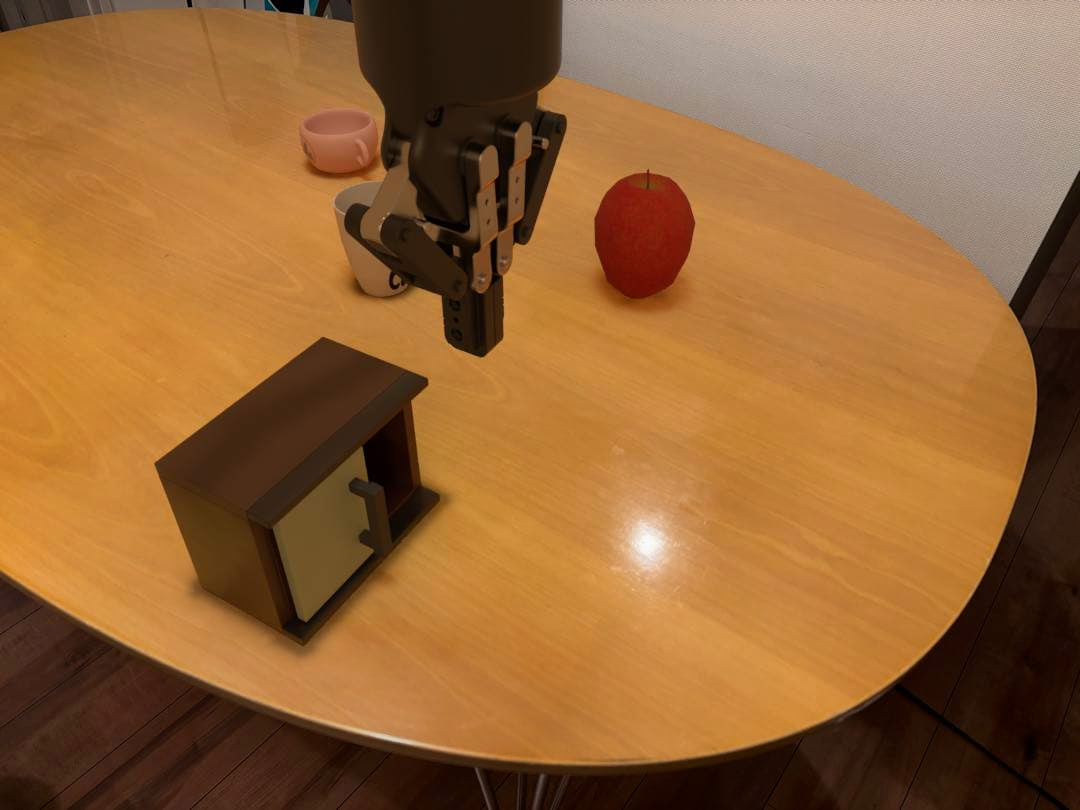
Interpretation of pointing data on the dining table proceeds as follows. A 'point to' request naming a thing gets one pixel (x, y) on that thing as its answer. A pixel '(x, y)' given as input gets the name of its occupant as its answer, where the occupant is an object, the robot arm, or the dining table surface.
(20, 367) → the dining table surface
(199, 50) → the dining table surface
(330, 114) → the mug
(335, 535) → the door
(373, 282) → the cup
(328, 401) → the cabinet
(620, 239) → the apple
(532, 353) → the dining table surface
